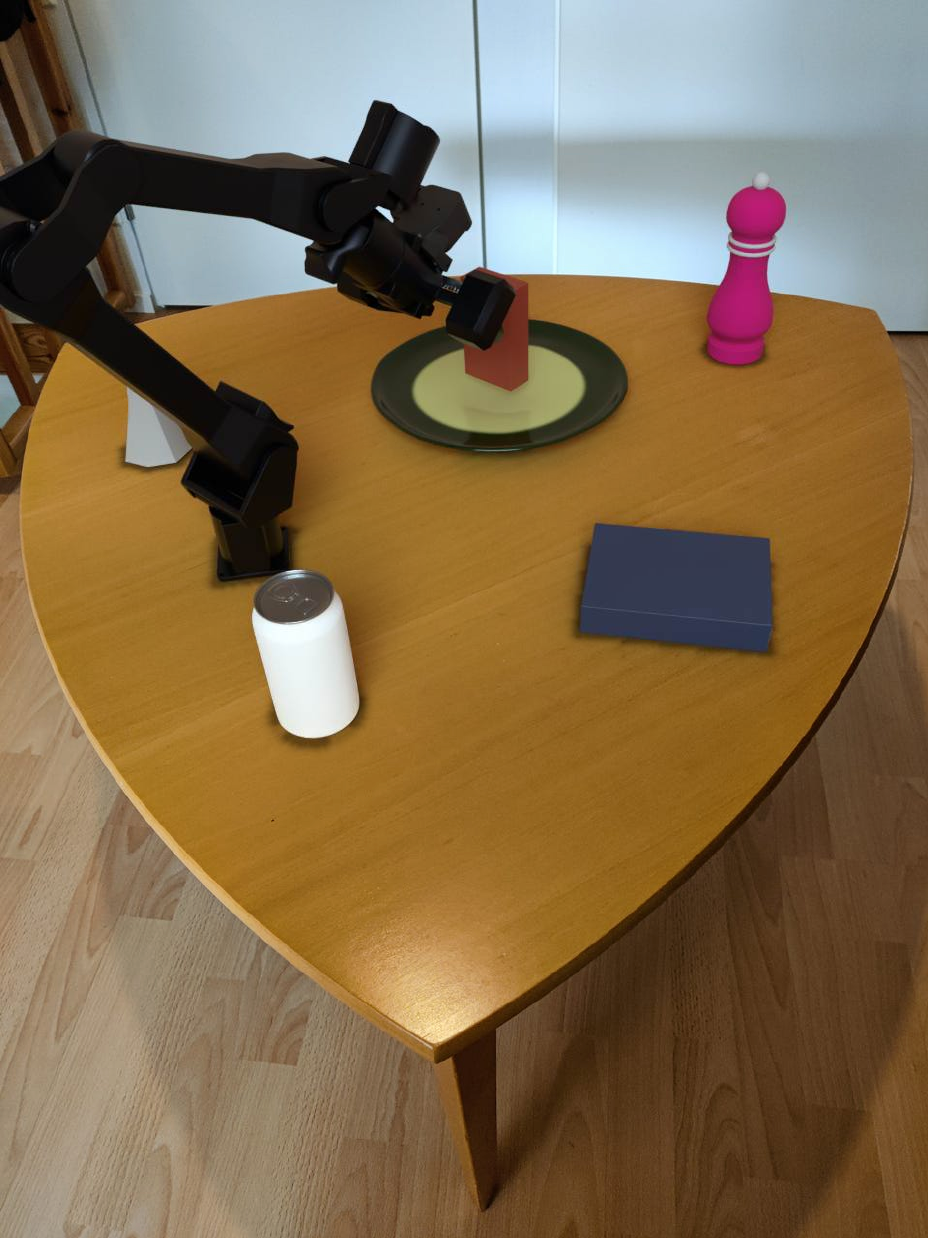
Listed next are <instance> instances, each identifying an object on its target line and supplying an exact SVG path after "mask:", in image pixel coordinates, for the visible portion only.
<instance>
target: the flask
mask: <svg viewBox="0 0 928 1238" xmlns="http://www.w3.org/2000/svg"><path fill="white" fill-rule="evenodd" d="M125 387H126V394H127V404H128V410H127V428H126V439H125V440H126V443H125V462H126V463H129V464H133V465H138V466H141V467H146V468H151V467H157V466H163V465H170V464H176V463H177V462H178V461H180V460H181V459H182V458H183V457H184V456H185V455H186V454H187V453H189V452H190V451H191V450H193V448H192V447H191V446H190V445H189V443H188V442H187V441H186V438H185V436H184V434H183V432H182V429H181V428H180V427H179V426H178V424H176V423H175V422H174V421H172V420H171V419H170V418H168V417H167V416H166V415H164V414H163V413H162V412H160V411H159V410H158V409H156V408H155V407H154V406H152V405H151V404H150V403H148V402H147V401H146V400H144V399H143V398H142V397H140V396H139V395H138V394H136V393H135V392H133V391H132V390H131V389H129V388H128V387H127V386H125Z"/></svg>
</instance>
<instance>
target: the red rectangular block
mask: <svg viewBox="0 0 928 1238" xmlns="http://www.w3.org/2000/svg"><path fill="white" fill-rule="evenodd" d="M474 270H479V271H482V272H485V273H488V274H491V275H494V276H497V277H500V278H503V279H505V280H506V281H507V282H508V283H509V284H511V285H512V286H513V287H514V290H515V293H516V296H515V298H514V300H513V302H512V305H511V307H510V309H509V311H508V313H507V315H506V317H505V319H504V321H503V323H502V327H503V330H504V335H503V337H502V339H501V341H500V342H499V343H493V344H492V347H491V348H489V349H487V350H485V351H482V350H479V349H477V348H474V347H471V346H469V345H466V344H464V360H465V373H466V374H468V375H471V376H473V377H476V378H478V379H481V380H483V381H486V382H488V383H490V384H493V385H495V386H498V387H500V388H503V389H505V390H508V391H510V392H511V391H513V390H514V389H516V388H517V387H519V386H520V385H522V384H524V383H525V382H527V381H528V319H529V282H527V281H524V280H521V279H518V278H515V277H512V276H510V275H507V274H503V273H500V272H498V271H494V270H491V269H488V268H485V267H481V266H478V267H476V268H473V269H472V270H470V271H468V272H467V273H465V274H463V275H461V276H460V279H459V281H461V282H463V281H464V279H465V277H466V274H468V273H470V272H472V271H474Z"/></svg>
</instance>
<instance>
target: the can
mask: <svg viewBox="0 0 928 1238" xmlns="http://www.w3.org/2000/svg"><path fill="white" fill-rule="evenodd" d="M331 581H332V580H330V579H329V578H328V577H327V576H326V575H324V574H323V573H321V572H318V571H316V570H311V569H303V568H302V569H301V568H299V569H297V568H296V569H290V570H289V571H285V572H281V573H279V574H276V575H271V576H270V577H268V578H267V579H266V580H264V581H263V582H262V583H261V584H260V585H259V586H258V587H257V589H256V591H255V593H254V596H253V610H252V614H251V622H252V627H253V631H254V635H255V638H256V639H255V640H256V643H257V647H258V651H259V654H260V658H261V662H262V663H261V664H262V666H263V670H264V674H265V677H266V681H267V685H268V688H269V692H270V696H271V699H272V703H273V707H274V710H275V714H276V716H277V720H278V723H279V724H280V725H281V726H282V727H283V729H285V730H286V731H287V732H288V733H290V734H292V735H293V736H297V737H300V738H305V739H323V738H327V737H331V736H333V735H336V734H337V733H339V732H341V731H342V730H343V729H345V728H346V727H347V726H349V725H350V724H351V722H352V721H353V720H354V719H355V718H356V715H357V714H358V711H359V708H360V696H359V688H358V683H357V682H358V681H357V676H356V671H355V670H356V669H355V665H354V660H353V659H354V658H353V653H352V647H351V642H350V637H349V631H348V626H347V625H348V624H347V621H346V620H347V619H346V614H345V611H344V605H343V602H342V599H341V597H340V595H339V594H338V593H337V591H336V590H335V587H334V584H333V582H331Z"/></svg>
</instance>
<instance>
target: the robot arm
mask: <svg viewBox="0 0 928 1238" xmlns="http://www.w3.org/2000/svg"><path fill="white" fill-rule="evenodd" d="M440 144H441V138H440V136H439V134H438V133H437V131H435V130H434V129H433V128H432V127H431V126H429V125H425V124H423V123H422V122H421V121H419V120H417V119H416V118H414V117H412V116H411V115H409V114H407V113H405V112H404V111H403V112H402V111H401V110H398V108H397V107H396V106H395V105H394V104H393V103H392V102H387V101H384V100H383V101H382V100H379V99H374V100H372V103H371V105H370V107H369V108H368V112H367V114H366V117H365V121H364V124H363V127H362V129H361V131H360V134H359V136H358V138H357V140H356V143H355V145H354V147H353V148H352V151H351V154H350V155H349V158H348V161H344V160H341V159H336V158H333V157H329V156H327V155H322V156H317V157H311V158H308V157H305V156H302V155H299V154H295V153H292V152H287V151H286V152H285V151H281V152H263V153H254V154H251V155H249V156H245V157H241V158H240V157H239V158H227V157H223V156H217V155H210V154H205V153H199V152H193V151H186V150H181V149H176V148H169V147H165V146H164V147H163V146H158V145H152V144H147V143H141V142H134V141H129V140H123V139H117V138H112V137H109V136H106V135H102V134H100V133H97V132H93V131H90V130H87V129H83V128H74V129H71V130H69V131H66V132H64V133H63V134H61V135H59V136H58V137H57V138H55V140H53V142H51V143H50V144H49V145H48V146H47V147H46V148H45V149H44V150H43V151H42V152H41V153H40V154H38V155H37V156H35V157H33V158H31V159H29V160H28V161H25V162H23V163H22V164H20V165H18V166H16V167H15V168H13V169H11V170H9V171H7V172H5V173H4V174H1V175H0V308H2V309H4V310H6V311H8V312H9V313H12V314H13V315H16V316H18V317H20V318H22V319H24V320H26V321H28V322H30V323H32V324H34V325H36V326H38V327H41V328H43V329H44V330H46V331H48V332H51V333H52V334H55V335H57V336H58V337H60V338H61V339H62V340H64V341H65V342H66V343H68V344H69V345H71V347H73V348H74V349H76V350H77V351H78V352H80V353H81V354H83V355H84V356H85V357H86V358H88V359H89V360H90V361H92V362H93V363H94V364H96V365H97V366H98V367H99V368H101V369H103V370H104V371H105V372H106V373H108V374H109V375H111V376H112V377H113V378H115V379H116V380H117V381H119V382H120V383H121V384H123V385H124V386H125V387H126V386H127V387H128V388H129V389H131V390H132V391H133V392H135V393H136V394H138V395H139V396H140V397H142V398H143V399H144V400H146V401H147V402H148V403H150V404H151V405H152V406H154V407H155V408H156V409H158V410H159V411H160V412H162V413H163V414H164V415H166V416H167V417H168V418H170V419H171V420H172V421H174V422H175V423H176V424H178V426H179V427H180V428H181V429H182V432H183V434H184V436H185V438H186V441H187V442H188V443H189V445H190V446H191V447H192V450H193V453H192V455H191V457H190V459H189V462H188V464H187V466H186V468H185V470H184V473H183V475H182V477H181V479H180V484H181V486H182V487H183V488H184V490H185V492H187V493H188V494H189V496H191V497H192V498H193V499H198V500H199V501H201V502H202V503H204V504H206V505H207V506H208V512H209V516H210V519H211V523H212V526H213V530H214V534H215V537H216V542H217V559H216V560H217V561H216V562H217V563H216V578H217V580H218V582H222V583H224V582H231V581H238V580H239V581H240V580H246V579H254V578H262V577H269V576H270V577H271V576H274V575H276V574H279V573H281V572H285V571H289V570H291V549H290V548H291V547H290V545H291V544H290V530H289V527H288V526H286V525H281V523H280V520H279V516H281V514H284V513H285V512H286V511H288V510H290V509H291V508H292V506H293V501H294V493H295V484H296V474H297V466H298V451H299V450H300V445H299V442H298V440H297V438H295V436H294V435H293V434H292V433H290V432H292V431H293V430H294V429H295V425H294V424H292V423H289V422H288V421H286V420H284V419H281V418H280V417H278V415H277V413H276V412H275V411H274V410H273V408H272V407H270V406H269V404H267V403H266V402H265V401H263V400H262V399H260V398H257V397H255V396H253V395H251V394H249V393H248V392H245V391H243V390H241V389H239V388H237V387H235V386H234V385H231V384H229V383H227V382H224V381H223V380H220V381H219V382H218V385H217V386H216V389H215V390H214V389H213V387H211V386H210V385H208V384H207V383H206V381H204V380H203V379H201V378H200V377H199V376H198V375H196V373H194V372H193V371H192V370H191V369H189V368H188V367H187V366H185V365H184V363H182V362H181V361H180V360H178V359H177V358H176V357H174V356H173V355H172V354H171V353H170V352H169V351H168V350H166V349H165V348H164V347H163V346H161V344H159V343H158V342H156V341H155V340H154V339H153V338H152V337H151V336H149V335H148V334H147V333H146V332H144V330H142V329H141V328H140V327H139V326H138V325H136V324H135V323H134V322H133V321H131V320H130V319H129V318H128V317H127V316H125V315H124V314H123V313H122V312H120V310H118V309H117V308H116V307H114V306H113V305H112V304H111V303H110V302H109V301H108V300H107V299H106V297H104V296H103V293H102V291H101V289H100V287H99V285H98V283H97V281H96V279H95V277H94V275H93V273H92V271H91V270H90V269H89V268H88V265H89V264H90V263H92V262H93V260H94V259H95V258H96V257H97V256H98V255H99V253H100V252H101V250H102V248H103V246H104V243H105V241H106V238H107V236H108V233H109V231H110V229H111V227H112V225H113V222H114V220H115V218H116V216H117V215H118V214H119V213H120V212H121V211H122V210H123V209H124V208H125V207H126V206H127V205H132V206H140V207H149V208H156V209H157V208H159V209H165V210H172V211H173V210H175V211H181V212H190V213H191V212H192V213H199V214H207V215H216V216H225V217H231V218H241V219H248V220H254V221H257V222H260V223H261V224H265V225H267V226H270V227H274V228H276V229H279V230H281V231H284V232H288V233H290V234H292V235H296V236H299V237H302V238H305V239H306V240H309V241H312V242H311V244H309V245H306V246H305V247H304V252H305V259H304V261H303V262H304V263H303V264H304V266H303V267H304V273H305V275H307V276H309V277H313V278H315V279H318V280H320V281H322V282H325V283H328V284H331V285H336V289H337V292H338V293H339V294H341V295H342V296H344V297H345V298H346V299H348V300H350V301H351V302H352V301H353V302H355V303H358V304H361V305H363V306H365V307H368V308H371V309H373V310H376V311H379V312H385V313H386V312H387V313H395V314H402V315H403V314H404V315H407V316H409V317H413V318H415V319H418V320H420V321H421V320H422V317H432V315H433V314H434V312H435V309H436V307H435V305H434V303H435V302H438V303H440V304H443V305H446V306H449V307H450V308H449V311H448V313H447V315H446V316H445V319H444V320H445V321H444V323H445V326H446V333H447V334H448V335H449V336H451V337H452V338H454V339H456V340H457V341H459V342H461V343H464V344H466V345H469V346H471V347H474V348H477V349H479V350H482V351H485V350H487V349H489V348H491V347H492V344H493V343H499V342H500V341H501V339H502V337H503V335H504V330H503V327H502V323H503V321H504V319H505V317H506V315H507V313H508V311H509V309H510V307H511V305H512V302H513V300H514V298H515V296H516V293H515V290H514V287H513V286H512V285H511V284H509V283H508V282H507V281H506V280H505V279H503V278H500V277H497V276H494V275H491V274H488V273H485V272H482V271H479V270H474V269H473V270H474V271H472V270H471V271H472V272H470V271H469V272H470V273H468V272H467V273H468V274H466V273H465V274H466V277H465V279H464V281H463V282H461V281H460V279H459V280H458V279H455V278H453V277H450V276H446V275H444V274H443V273H448V272H449V270H450V268H451V265H452V263H453V261H454V260H453V259H452V258H451V256H449V255H448V254H447V253H448V252H450V251H451V250H452V248H454V246H455V245H456V243H458V241H459V240H460V239H461V237H462V236H463V235H464V234H465V233H466V232H469V230H470V229H471V227H472V225H473V220H472V217H471V215H470V213H469V210H468V208H467V205H466V202H465V200H464V197H463V195H462V193H461V192H460V191H457V190H454V189H450V188H447V187H443V186H440V185H436V184H427V185H424V184H422V183H423V181H424V179H425V176H426V174H427V172H428V170H429V168H430V166H431V164H432V161H433V159H434V157H435V154H436V153H437V151H438V149H439V146H440ZM378 207H379V208H382V209H384V210H387V211H389V214H390V216H391V218H392V220H393V221H391V220H390V219H389V218H388V217H386V216H385V215H384V214H383V213H382V212H381V211H380V210H379V209H377V208H378ZM127 387H126V388H127Z"/></svg>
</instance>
